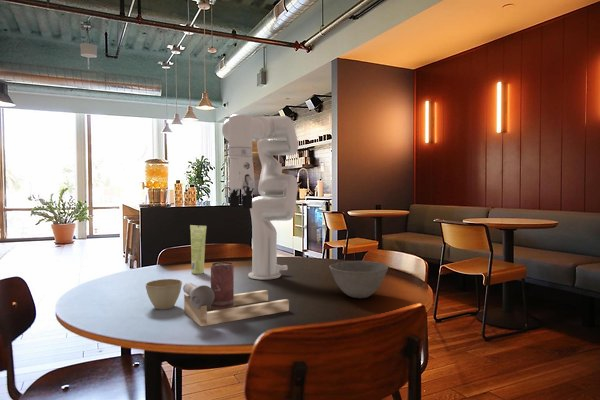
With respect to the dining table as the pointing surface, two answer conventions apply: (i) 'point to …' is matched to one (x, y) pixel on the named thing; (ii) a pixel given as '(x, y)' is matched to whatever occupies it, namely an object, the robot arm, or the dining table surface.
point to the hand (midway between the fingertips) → (240, 207)
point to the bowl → (358, 277)
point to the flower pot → (163, 292)
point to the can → (222, 285)
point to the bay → (203, 297)
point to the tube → (197, 248)
